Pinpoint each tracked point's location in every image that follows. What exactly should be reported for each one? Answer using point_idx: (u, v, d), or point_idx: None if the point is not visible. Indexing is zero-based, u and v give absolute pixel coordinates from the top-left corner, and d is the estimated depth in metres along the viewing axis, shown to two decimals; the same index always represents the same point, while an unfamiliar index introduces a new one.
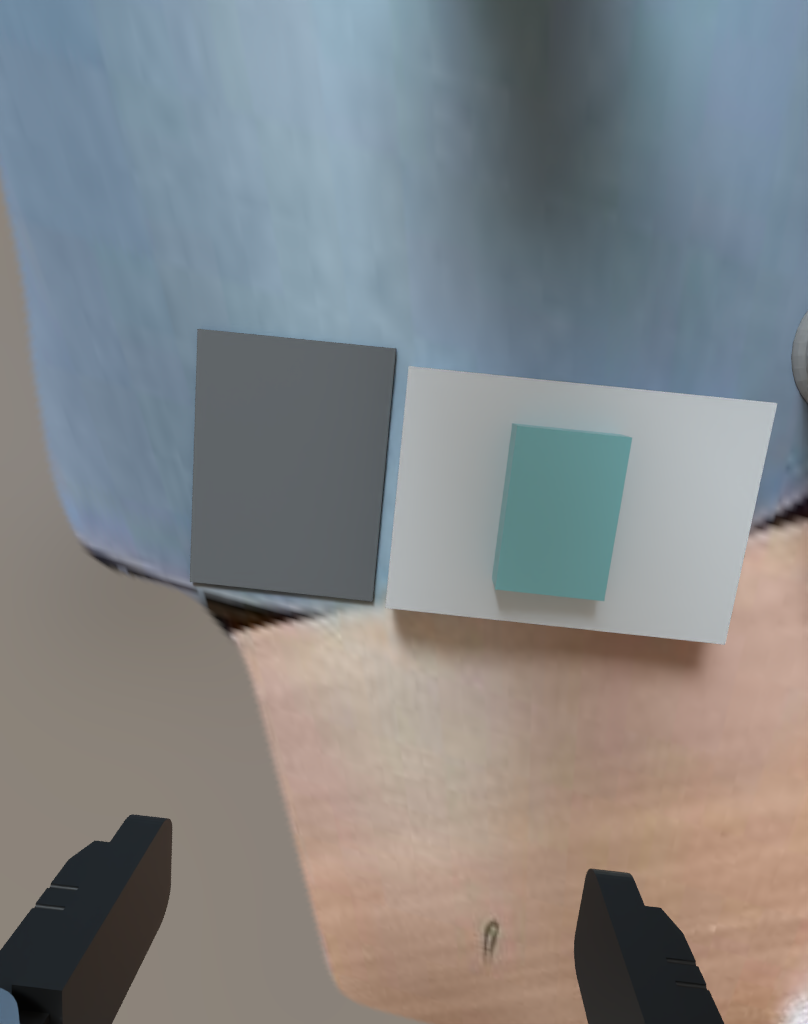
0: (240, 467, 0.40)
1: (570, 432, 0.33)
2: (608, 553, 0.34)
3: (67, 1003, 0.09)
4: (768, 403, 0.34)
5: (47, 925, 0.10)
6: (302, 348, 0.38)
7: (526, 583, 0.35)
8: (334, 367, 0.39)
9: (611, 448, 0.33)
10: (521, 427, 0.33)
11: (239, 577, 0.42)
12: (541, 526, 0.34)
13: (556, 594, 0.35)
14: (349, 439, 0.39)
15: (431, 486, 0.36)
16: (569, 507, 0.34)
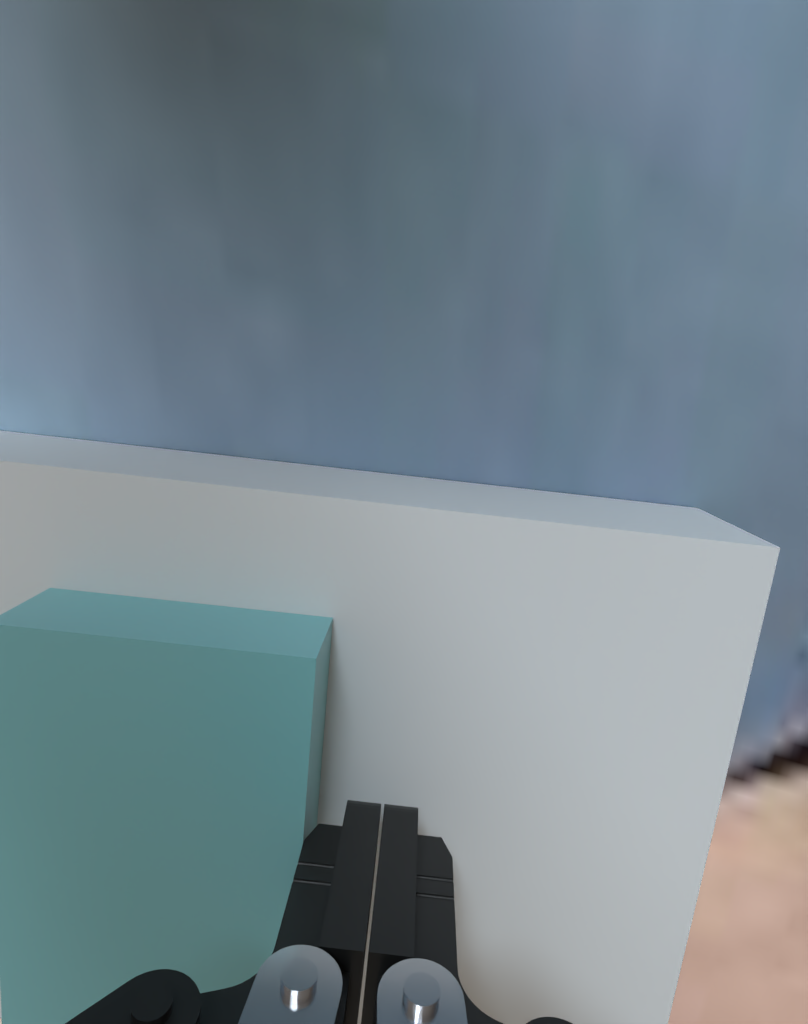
0: None
1: (139, 642, 0.11)
2: None
3: (362, 963, 0.10)
4: (756, 548, 0.13)
5: (312, 897, 0.11)
6: None
7: None
8: None
9: (261, 688, 0.12)
10: None
11: None
12: (96, 882, 0.13)
13: None
14: None
15: None
16: (164, 837, 0.12)
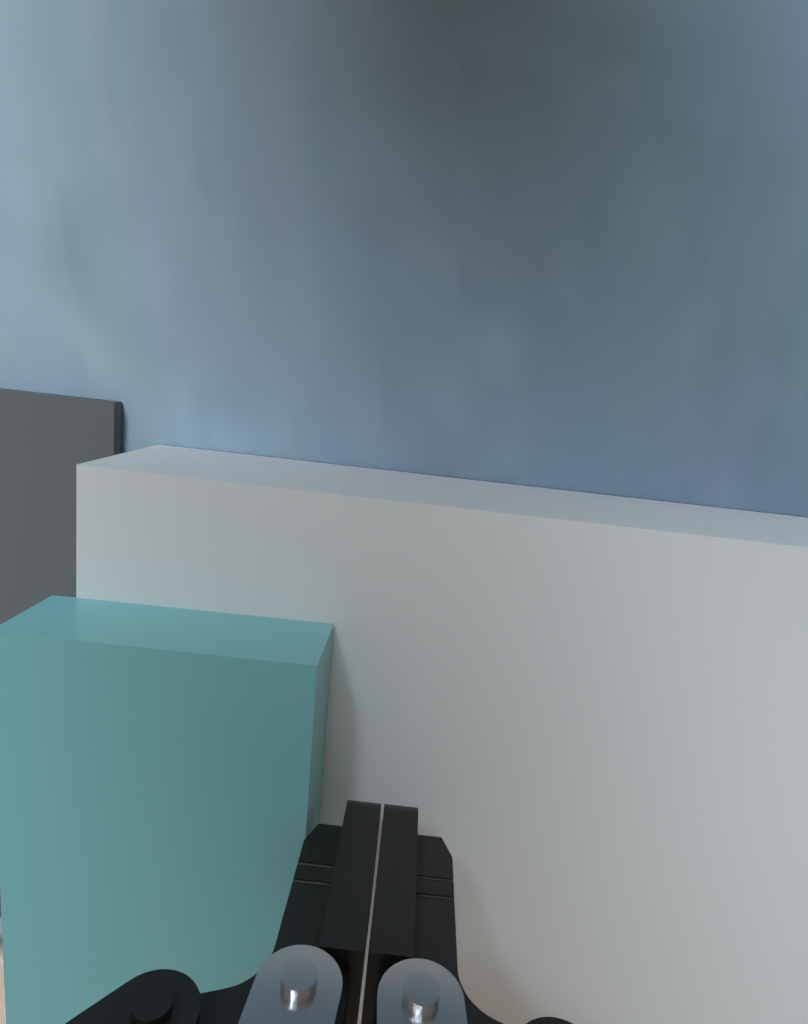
0: None
1: (141, 649, 0.12)
2: None
3: (362, 964, 0.10)
4: None
5: (312, 897, 0.11)
6: None
7: None
8: None
9: (261, 695, 0.12)
10: (0, 636, 0.12)
11: None
12: (99, 888, 0.13)
13: None
14: (27, 602, 0.17)
15: None
16: (166, 843, 0.12)
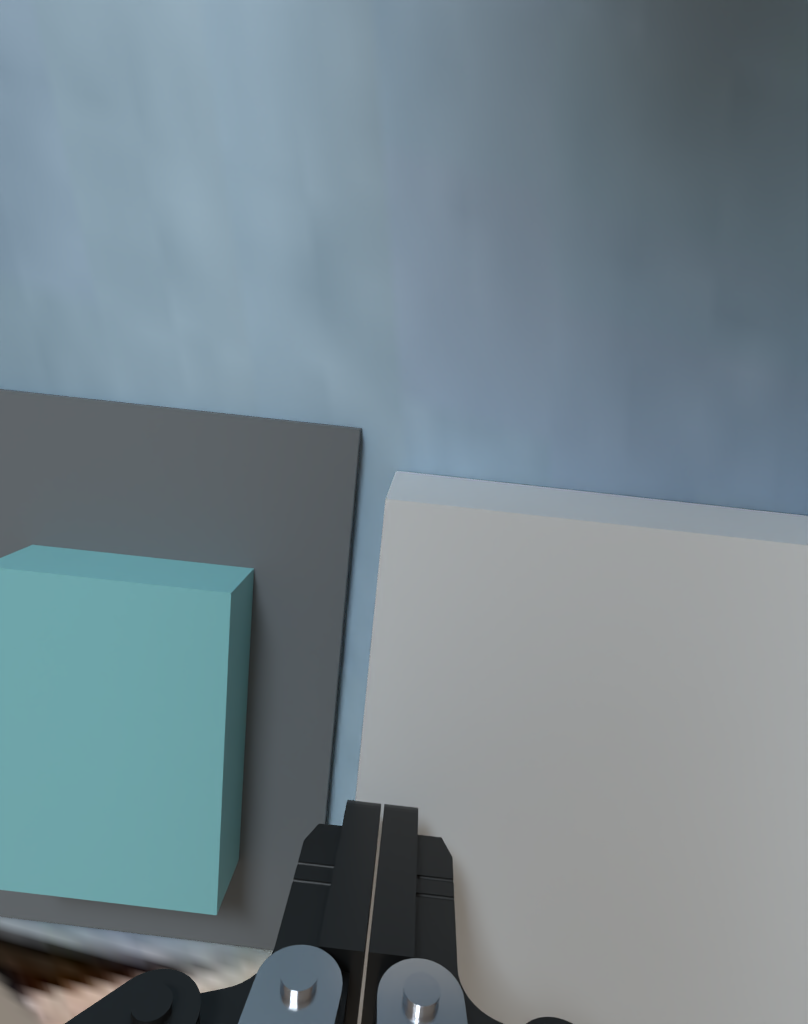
0: None
1: None
2: None
3: (362, 963, 0.10)
4: None
5: (312, 897, 0.11)
6: (140, 427, 0.16)
7: None
8: (216, 470, 0.17)
9: None
10: None
11: (29, 901, 0.19)
12: None
13: None
14: (256, 629, 0.17)
15: (445, 796, 0.14)
16: None
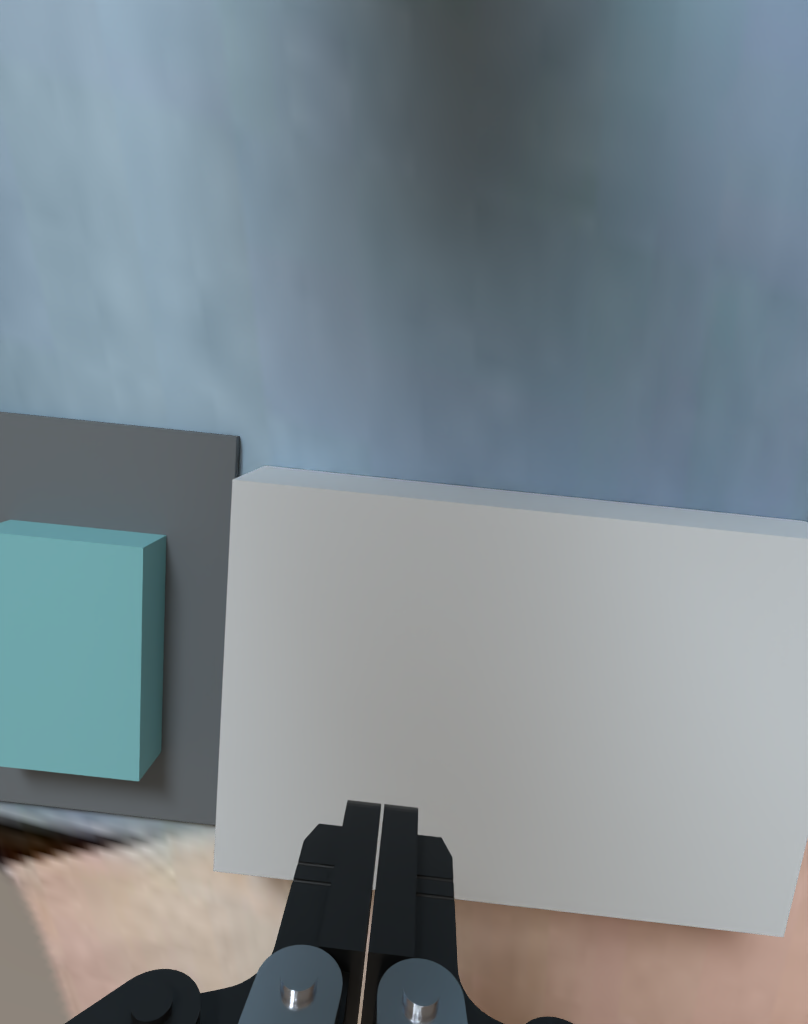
0: None
1: (93, 529, 0.24)
2: None
3: (362, 964, 0.10)
4: None
5: (312, 897, 0.11)
6: (85, 436, 0.24)
7: None
8: (138, 466, 0.24)
9: None
10: None
11: (8, 787, 0.26)
12: None
13: None
14: (169, 579, 0.24)
15: (281, 680, 0.21)
16: None
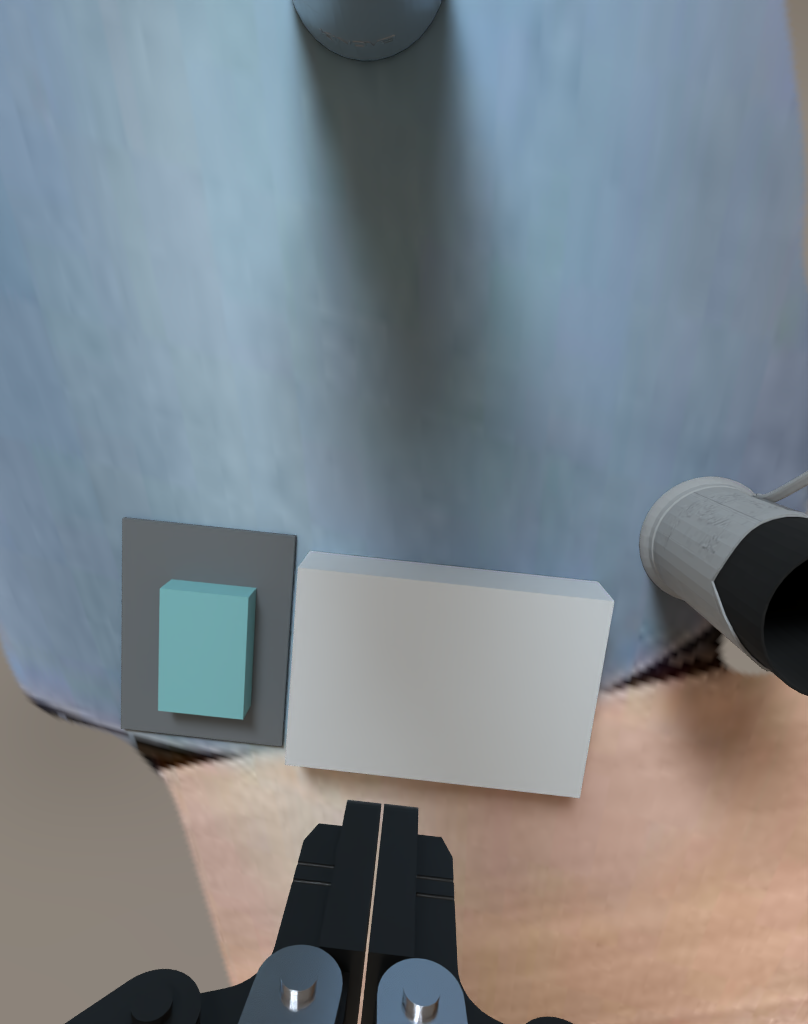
0: None
1: (216, 584, 0.45)
2: None
3: (362, 964, 0.10)
4: (606, 601, 0.40)
5: (312, 897, 0.11)
6: (213, 535, 0.44)
7: None
8: (242, 551, 0.44)
9: None
10: (253, 588, 0.45)
11: (164, 725, 0.47)
12: None
13: None
14: (257, 611, 0.45)
15: (321, 665, 0.42)
16: None
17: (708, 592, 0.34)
